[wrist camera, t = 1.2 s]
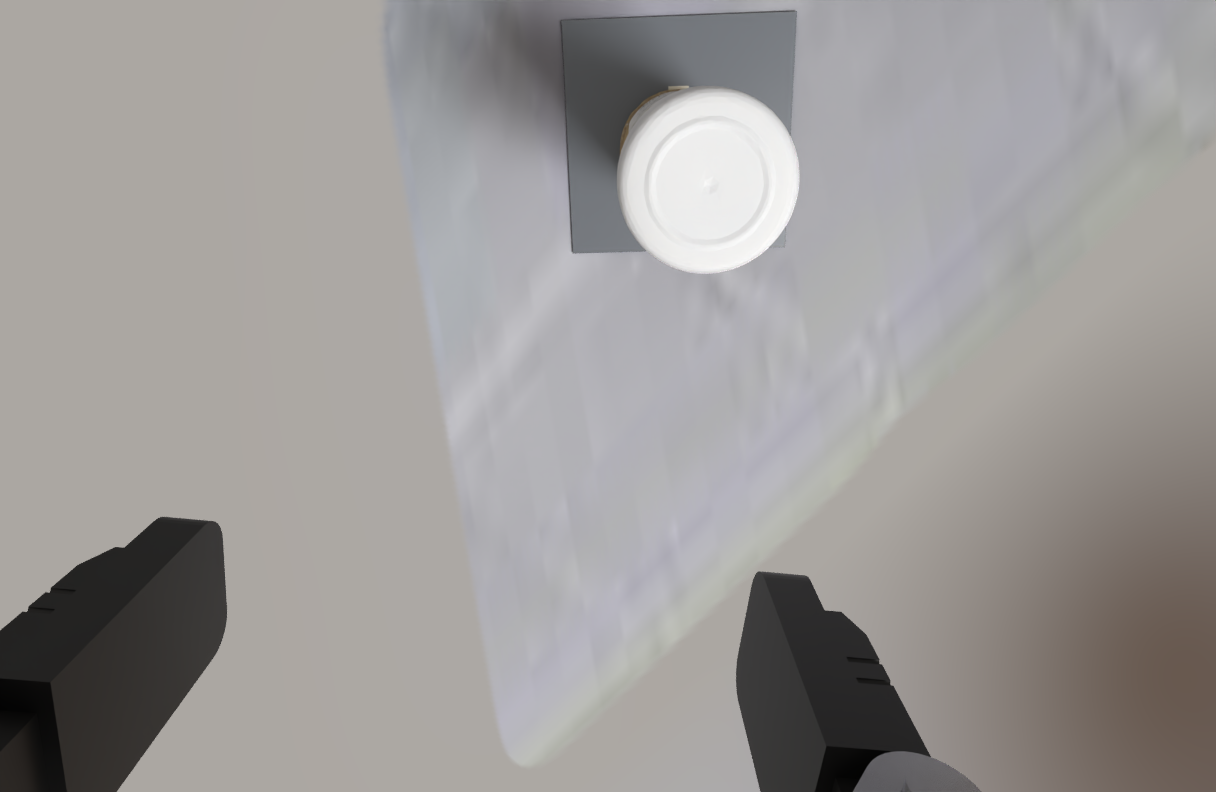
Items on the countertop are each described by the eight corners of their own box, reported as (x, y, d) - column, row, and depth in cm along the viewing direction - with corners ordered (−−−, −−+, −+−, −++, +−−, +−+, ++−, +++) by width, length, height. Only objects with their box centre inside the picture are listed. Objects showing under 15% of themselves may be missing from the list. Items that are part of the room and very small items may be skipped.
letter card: (561, 20, 30) (561, 20, 30) (796, 11, 30) (796, 11, 30) (573, 252, 33) (572, 253, 33) (784, 246, 33) (785, 247, 33)
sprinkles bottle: (614, 198, 32) (607, 267, 20) (626, 81, 31) (626, 75, 18) (723, 210, 32) (784, 286, 20) (741, 93, 31) (820, 96, 18)
